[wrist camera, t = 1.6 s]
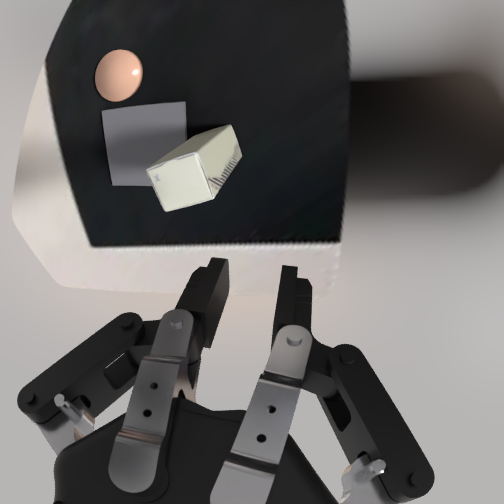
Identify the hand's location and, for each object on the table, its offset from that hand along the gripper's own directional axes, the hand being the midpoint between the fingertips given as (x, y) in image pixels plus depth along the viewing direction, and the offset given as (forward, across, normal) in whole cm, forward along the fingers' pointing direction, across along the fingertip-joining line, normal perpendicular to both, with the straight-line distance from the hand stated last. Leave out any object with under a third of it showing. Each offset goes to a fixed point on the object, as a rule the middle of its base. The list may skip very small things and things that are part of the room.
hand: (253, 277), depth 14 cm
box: (+23, +8, 0) cm, 25 cm away
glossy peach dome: (+23, +21, -10) cm, 33 cm away
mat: (+23, +18, 0) cm, 29 cm away
